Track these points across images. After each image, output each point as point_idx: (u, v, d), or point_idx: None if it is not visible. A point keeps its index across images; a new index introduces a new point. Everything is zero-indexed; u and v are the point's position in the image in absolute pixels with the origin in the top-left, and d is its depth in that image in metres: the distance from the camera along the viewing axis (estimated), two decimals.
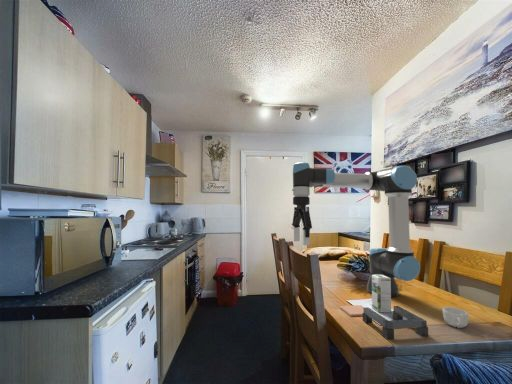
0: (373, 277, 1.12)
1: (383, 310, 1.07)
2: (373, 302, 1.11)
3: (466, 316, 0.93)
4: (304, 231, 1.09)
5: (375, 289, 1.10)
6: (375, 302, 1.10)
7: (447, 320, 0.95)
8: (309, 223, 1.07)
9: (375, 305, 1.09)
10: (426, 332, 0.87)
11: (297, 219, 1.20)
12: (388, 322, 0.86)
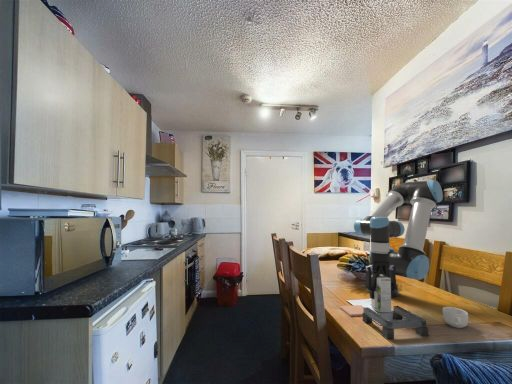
0: None
1: (383, 310, 1.07)
2: None
3: (466, 316, 0.93)
4: None
5: (375, 289, 1.10)
6: None
7: (447, 320, 0.95)
8: (367, 285, 1.09)
9: None
10: (426, 332, 0.87)
11: None
12: (388, 322, 0.86)
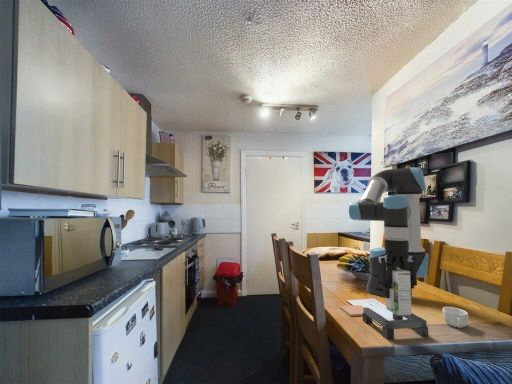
0: None
1: (401, 312, 0.84)
2: None
3: (466, 316, 0.93)
4: None
5: None
6: None
7: (447, 320, 0.95)
8: (381, 280, 0.87)
9: None
10: (426, 332, 0.87)
11: None
12: (388, 322, 0.86)
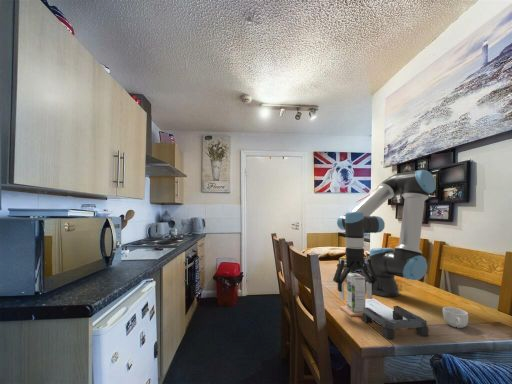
0: (348, 276, 1.10)
1: (357, 309, 1.05)
2: (348, 301, 1.09)
3: (466, 316, 0.93)
4: None
5: (349, 288, 1.08)
6: (349, 302, 1.08)
7: (447, 320, 0.95)
8: (335, 277, 1.07)
9: (350, 305, 1.08)
10: (426, 332, 0.87)
11: (362, 272, 1.10)
12: (388, 322, 0.86)
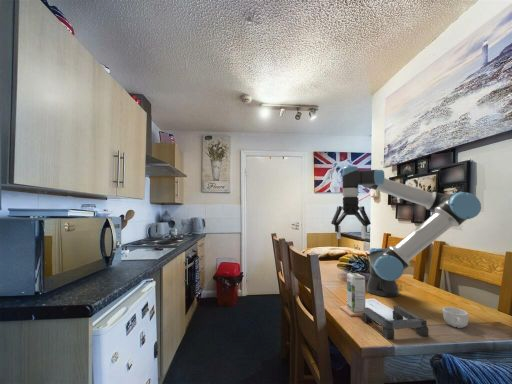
0: (348, 276, 1.10)
1: (357, 309, 1.05)
2: (348, 301, 1.09)
3: (466, 316, 0.93)
4: None
5: (349, 288, 1.08)
6: (349, 302, 1.08)
7: (447, 320, 0.95)
8: (333, 220, 1.27)
9: (350, 305, 1.08)
10: (426, 332, 0.87)
11: (357, 217, 1.30)
12: (388, 322, 0.86)
